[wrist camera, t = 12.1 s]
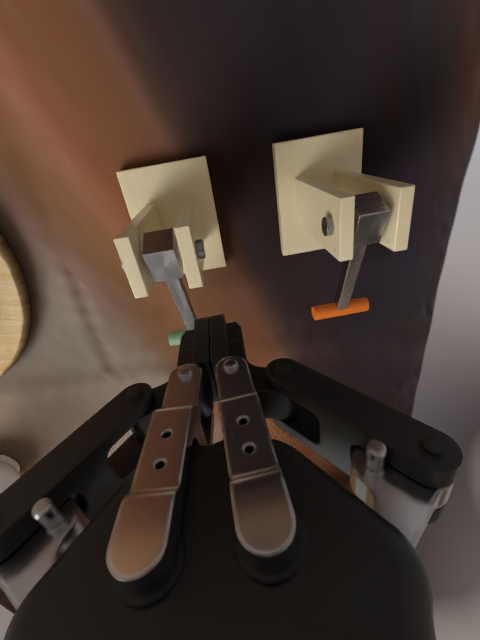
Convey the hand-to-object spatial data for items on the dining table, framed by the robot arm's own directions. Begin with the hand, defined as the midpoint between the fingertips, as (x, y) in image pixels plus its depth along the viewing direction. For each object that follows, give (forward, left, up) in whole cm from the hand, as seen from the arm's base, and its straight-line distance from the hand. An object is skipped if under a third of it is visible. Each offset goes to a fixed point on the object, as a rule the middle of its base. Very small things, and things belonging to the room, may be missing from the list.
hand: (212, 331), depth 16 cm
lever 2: (+3, +12, -12) cm, 17 cm away
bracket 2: (-2, +12, -21) cm, 24 cm away
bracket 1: (-2, -3, -21) cm, 21 cm away
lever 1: (+3, -3, -12) cm, 13 cm away
